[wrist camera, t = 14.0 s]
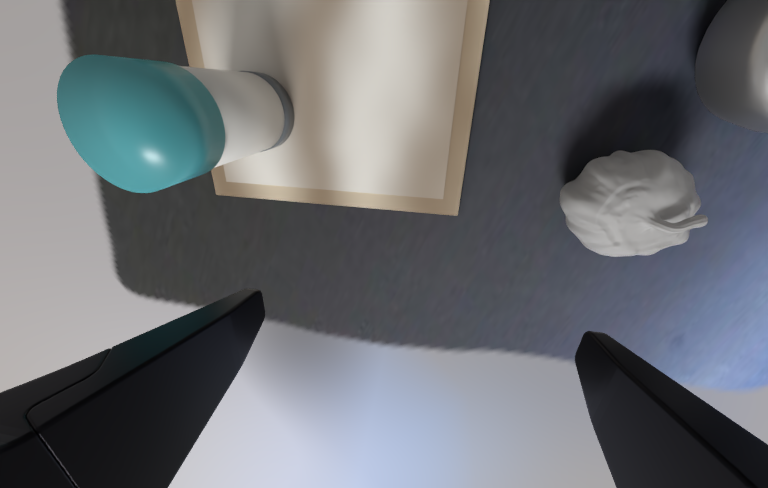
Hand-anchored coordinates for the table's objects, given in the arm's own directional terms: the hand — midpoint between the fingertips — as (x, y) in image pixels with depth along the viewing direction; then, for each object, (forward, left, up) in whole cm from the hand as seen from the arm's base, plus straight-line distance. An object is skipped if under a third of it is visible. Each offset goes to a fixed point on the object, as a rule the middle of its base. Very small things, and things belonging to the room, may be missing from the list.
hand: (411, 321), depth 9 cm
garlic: (-10, -1, -12) cm, 16 cm away
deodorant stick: (+10, -4, -11) cm, 16 cm away
